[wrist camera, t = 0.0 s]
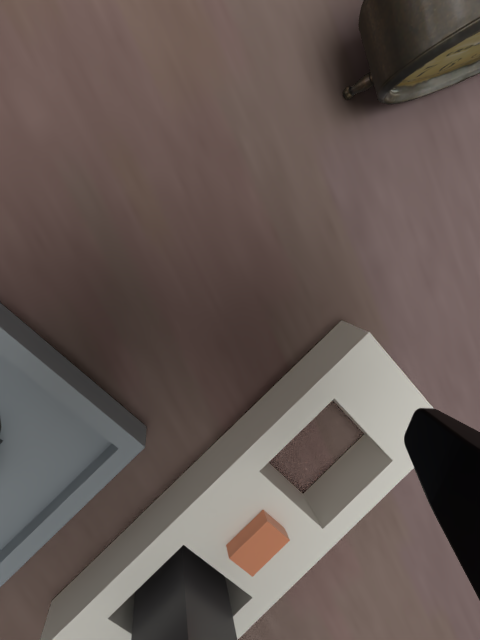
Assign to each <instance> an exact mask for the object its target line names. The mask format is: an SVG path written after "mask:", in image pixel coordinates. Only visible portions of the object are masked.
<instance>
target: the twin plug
mask: <svg viewBox="0 0 480 640" xmlns="http://www.w3.org/2000/svg"><path fill="white" fill-rule="evenodd" d="M131 640H237V635H236V630H235V625H234V620H233V615H232V610H231V604H230V599H229V594H228V589H227V584H226V579H225V576H224V575H222V574H221V573H220V572H218V571H217V570H216V569H215V568H213V567H212V566H211V565H209V564H208V563H207V562H205V561H204V560H203V559H201V558H200V557H199V556H197V555H196V554H195V553H194V552H192V551H191V550H190V549H188V548H187V547H186V546H184V545H183V546H182V547H181V548H180V549H179V550H178V551H177V552H176V553H175V554H174V555H173V556H171V557H170V558H169V559H168V560H167V561H166V562H165V563H164V564H163V565H162V566H161V567H160V568H159V569H158V570H157V571H156V572H155V573H154V574H153V575H152V576H151V577H150V578H149V579H148V580H147V581H146V582H145V583H144V584H143V585H142V586H141V587H140V588H139V589H137V590H136V591H135V596H134V609H133V623H132V637H131Z"/></svg>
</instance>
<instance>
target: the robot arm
mask: <svg viewBox="0 0 480 640" xmlns="http://www.w3.org/2000/svg"><path fill="white" fill-rule="evenodd" d="M0 433H1V418H0ZM404 443H405V447H406V449H407V452H408V454H409V456H410V459H411V461H412V464H413V466H414V468H415V471H416V473H417V476H418V478H419V480H420V483H421V485H422V488H423V490H424V492H425V495H426V497H427V499H428V502H429V504H430V506H431V508H432V510H433V512H434V514H435V516H436V518H437V520H438V522H439V524H440V526H441V528H442V529H443V531H444V533H445V535H446V537H447V539H448V541H449V543H450V545H451V547H452V549H453V550H454V552H455V554H456V556H457V558H458V560H459V562H460V564H461V566H462V568H463V569H464V571H465V573H466V575H467V577H468V579H469V581H470V583H471V585H472V587H473V589H474V590H475V592H476V594H477V596H478V598H479V600H480V432H478V431H476V430H475V429H473V428H471V427H469V426H467V425H465V424H463V423H461V422H459V421H457V420H456V419H454V418H452V417H450V416H448V415H446V414H444V413H442V412H440V411H438V410H436V409H433V408H419V409H417V410H416V411H415V412H414V414H413V416H412V418H411V421H410V423H409V425H408V428H407V430H406V432H405V435H404Z"/></svg>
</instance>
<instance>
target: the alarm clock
mask: <svg viewBox="0 0 480 640" xmlns="http://www.w3.org/2000/svg"><path fill="white" fill-rule="evenodd" d="M359 31H360V34H361V38H362V42H363V45H364V49H365V53H366V56H367V60H368V63H369V67H370V71H371V72H370V73H368V74H366V75H365V76H364V77H362V78H361V79H360V80H359V81H358V82H357V83H356V84H355V85H354V86H353V87H350V86H348V87H346V88H345V89H344V91H343V96H344V98H345V99H347V100H349V99H351V98H352V97H353V95H354V94H356V93H359V92H363V91H365V90H367V89H369V88H371V87H372V86H374V85H375V89H376V93H377V97H378V100H379V101H380V102H382V103H385V104H396V103H401V102H406V101H410V100H413V99H416V98H419V97H422V96H425V95H428V94H431V93H433V92H436V91H439V90H441V89H444V88H447V87H449V86H451V85H454V84H456V83H459V82H461V81H463V80H465V79H467V78H470V77H472V76H474V75H477V74H479V73H480V0H364V1H363V4H362V7H361V11H360V16H359Z"/></svg>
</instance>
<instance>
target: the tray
mask: <svg viewBox="0 0 480 640" xmlns="http://www.w3.org/2000/svg"><path fill="white" fill-rule="evenodd" d="M0 418H1V433H0V439H1V440H3V442H2V443H1V444H0V587H1V586H2V585H3V584H4V583H5V582H6V581H7V580H8V579H9V578H10V577H11V576H12V575H13V574H14V573H15V572H16V571H17V570H18V569H19V568H21V567H22V566H23V565H24V564H25V563H26V562H27V561H28V560H29V559H30V558H31V557H32V556H33V555H34V554H35V553H36V552H37V551H38V550H39V549H40V548H41V547H42V546H43V545H44V544H45V543H46V542H47V541H48V540H50V539H51V538H52V537H53V536H54V535H55V534H56V533H57V532H58V531H59V530H60V529H61V528H62V527H63V526H64V525H65V524H66V523H67V522H68V521H69V520H70V519H71V518H72V517H73V516H74V515H75V514H76V513H77V512H79V511H80V510H81V509H82V508H83V507H84V506H85V505H86V504H87V503H88V502H89V501H90V500H91V499H92V498H93V497H94V496H95V495H96V494H97V493H98V492H99V491H100V490H101V489H102V488H103V487H104V486H105V485H106V484H107V483H109V482H110V481H111V480H112V479H113V478H114V477H115V476H116V475H117V474H118V473H119V472H120V471H121V470H122V469H123V468H124V467H125V466H126V465H127V464H128V463H129V462H130V461H131V460H132V459H133V458H134V457H135V456H136V455H138V454H139V453H140V452H141V451H142V450H143V449H144V448H145V443H146V429H147V427H146V426H145V425H144V424H143V423H142V422H140V421H139V420H138V419H137V418H136V417H135V416H133V415H132V414H131V413H130V412H129V411H127V410H126V409H125V408H124V407H123V406H122V405H120V404H119V403H118V402H117V401H116V400H114V399H113V398H112V397H111V396H110V395H109V394H107V393H106V392H105V391H104V390H103V389H101V388H100V387H99V386H98V385H97V384H96V383H94V382H93V381H92V380H91V379H90V378H89V377H87V376H86V375H85V374H84V373H83V372H81V371H80V370H79V369H78V368H77V367H76V366H74V365H73V364H72V363H71V362H70V361H68V360H67V359H66V358H65V357H64V356H63V355H61V354H60V353H59V352H58V351H57V350H55V349H54V348H53V347H52V346H51V345H50V344H48V343H47V342H46V341H45V340H44V339H43V338H41V337H40V336H39V335H38V334H37V333H35V332H34V331H33V330H32V329H31V328H30V327H28V326H27V325H26V324H25V323H24V322H22V321H21V320H20V319H19V318H18V317H17V316H15V315H14V314H13V313H12V312H11V311H9V310H8V309H7V308H6V307H5V306H4V305H2V304H1V303H0Z"/></svg>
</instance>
